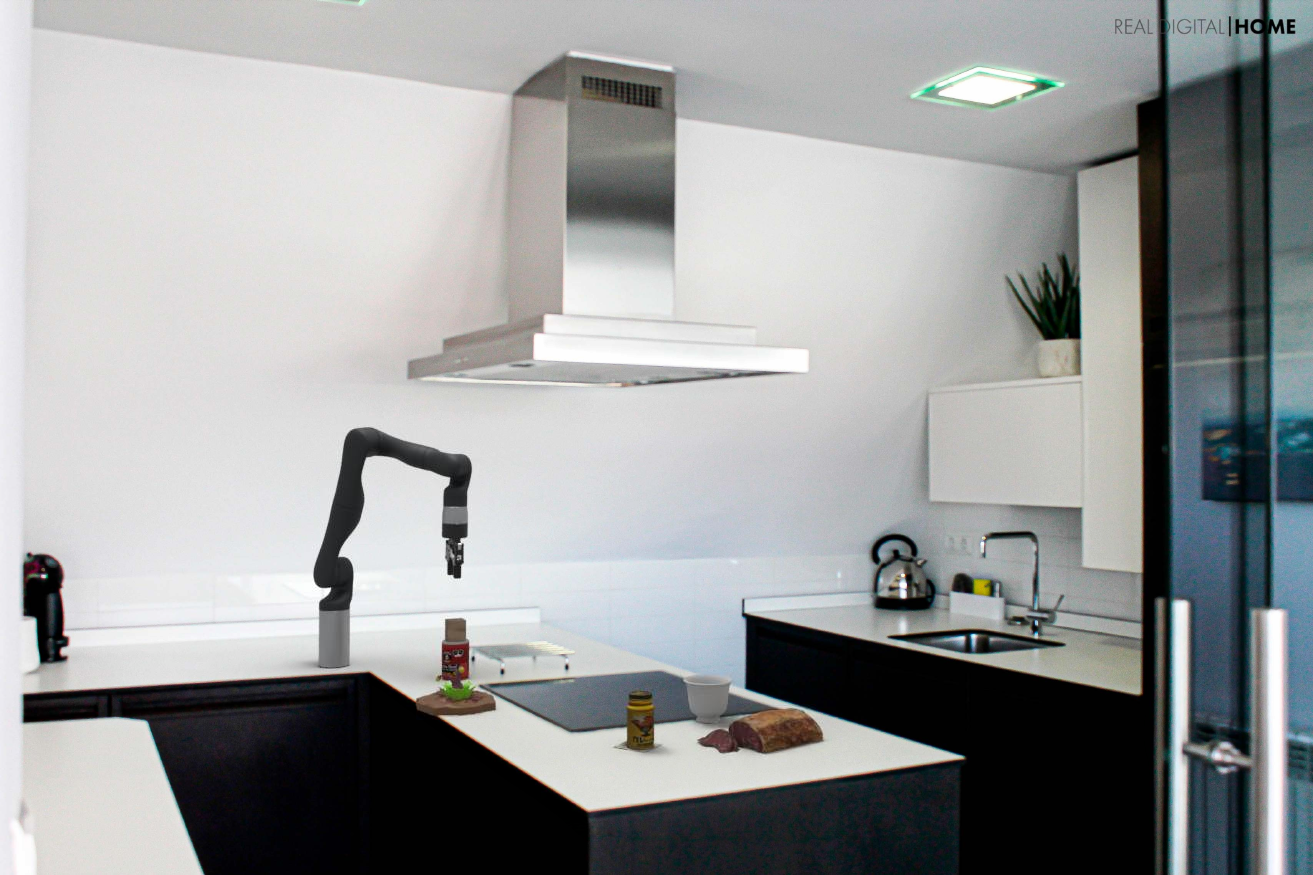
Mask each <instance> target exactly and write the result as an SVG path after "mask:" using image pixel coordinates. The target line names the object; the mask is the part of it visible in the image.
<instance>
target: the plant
mask: <svg viewBox="0 0 1313 875" xmlns="http://www.w3.org/2000/svg"><path fill="white" fill-rule="evenodd" d="M463 672H464V668H463V667H462V666H461V665H460V666H459V667H458V670H457V669H456V668H455V669H454V672H453V673H454V675H455V676H456V679H455V680H454V679H452V678H451V677H450V676H448V675H442V674H439V675H437V676H436V677H435V681H436V682H440V681H441V679H443V678H442V677H446V678H448V679H449V680H450V682H447V681H445V682H444V683H443V684H442V686H443V687H444V688H442V687H441V686H438V689H437V690H436V691H435V692H432V693H430V694H427V695H426V694H425V695H422V696H420V697H416V700H415V706H416V710H417V711H419V712H422V713H426V714H428V715H430V716H434V717H435V716H437V717H438V716H439V715H459V716H468V715H469V714H470V715H477V714H476V713H478V714H481V713H484V712H492V710H494V711H496V709H497V702H496V700H495V697H494V696H493V695H492V694H489V693H488V692H485V691H480V690H478V689H477V690H474V689H476V687H478V685H477V684H476V685H473V686H472V687H471V685H472V682H471V681H470V680H468V681H465V682H464V683H462V680H461V678H460V673H463ZM449 680H448V681H449ZM470 687H471V688H470Z"/></svg>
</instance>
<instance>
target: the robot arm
mask: <svg viewBox="0 0 1313 875" xmlns="http://www.w3.org/2000/svg"><path fill="white" fill-rule="evenodd" d="M372 457H385V458H391V459H394V460H395V459H396V460H397V461H400V462H401V463H403V464H405V465H407V466H410V467H412V468H416V469H420V470H422V471H428V472H431V473H434V474H436V475H439V476H441V477H446V478H449V482H448V485H447V486H445V487H444V489H443V497H442V500H443V501H442V502H443V503H442V512H441V537H442V538H443V539H445V554H444V555H445V556H444V559H445V561H446V563H447V564H446V566H447V569H446V574H447V575H448V576H452V577H453V579H456V580H457V579H459V580H460V579H461V578H462V566H463V565H464V563H465V562H464V558H465V557H464V556H465V554H464V553H465V552H464V550H465V549H464V546H465V544H464V542H461V540H462V539H466V538H468V536H469V534H468V528H469V527H468V526H469V511H468V491H469V488H470V483H471V478H472V473H473V465H472V461H471V459H470V458H469V457H468V455H466V454H463V453H448V452H445V451H444V452H443V451H440V450H439V449H437V448H435V447H431V446H427V445H424V444H420V443H416V442H411V441H407V440H404V439H401V438H398V437H395V436H392V435H390V434H388V433H386V432H383V431H382V430H380V429H377V428H374V427H373V426H365V427H364V426H363V427H355V428H353V429H351V430H349V431H348V432H347V434H346V435H345V439H344V440H343V446H342V454H341V463H340V468H339V474H338V478H337V483H336V488H335V492H334V495H333V496H334V497H333V498H332V503H331V506H330V513H329V516H328V520H327V521H328V522H327V525H326V528H325V532H324V536H323V539H322V543H321V546H320V548H319V552H318V554H317V557H316V560H315V563H314V567H313V572H312V575H313V581H314V583H315V585H316V587H318V588H320V589H330V591H329V592H328V594H327V595H325V596H324V598H322V599H320V600H319V603H318V667H320V666H321V667H320V668H326V667H327V668H342V667H346V666H349V665H350V660H351V657H350V656H351V654H350V651H351V650H350V649H351V648H350V647H351V646H350V642H351V624H350V623H351V619H350V618H351V603H352V600H353V595H354V592H353V591H354V577H355V576H354V572H355V571H354V566H353V564H352V563H353V562H352V561H351V560H350V559H349V557H347V556H340V553H341V550H342V548H343V546H344V544H345V542H347V540H348V539H349V538H350V537H351V535H352V534H353V532H354V531H355V530H356V528H357V526H358V525H359V524H360V522H361V519H362V515H363V511H364V507H365V491H364V487H363V483H362V476H363V469H364V466H365V462H366V460H367V458H372ZM327 668H326V669H327Z"/></svg>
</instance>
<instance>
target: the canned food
mask: <svg viewBox="0 0 1313 875" xmlns="http://www.w3.org/2000/svg"><path fill="white" fill-rule="evenodd" d="M460 665H461V666H462V667H463V668H464V672H463V673H460V678H461V681H464V680H467V679H469V676H470V639H468V638H466V641H459V642H448V641H446V640H445V639H443V640H441V675H448V676H450V677H451V678H452V679H454V680H455V679H456V676H455V675H454V673H453V672H454V669H455V668H456V669H457V670H458V667H459V666H460ZM441 679H442V680H444V681H449V679H448V678H446V677H442V678H441ZM463 679H464V680H463Z"/></svg>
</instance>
